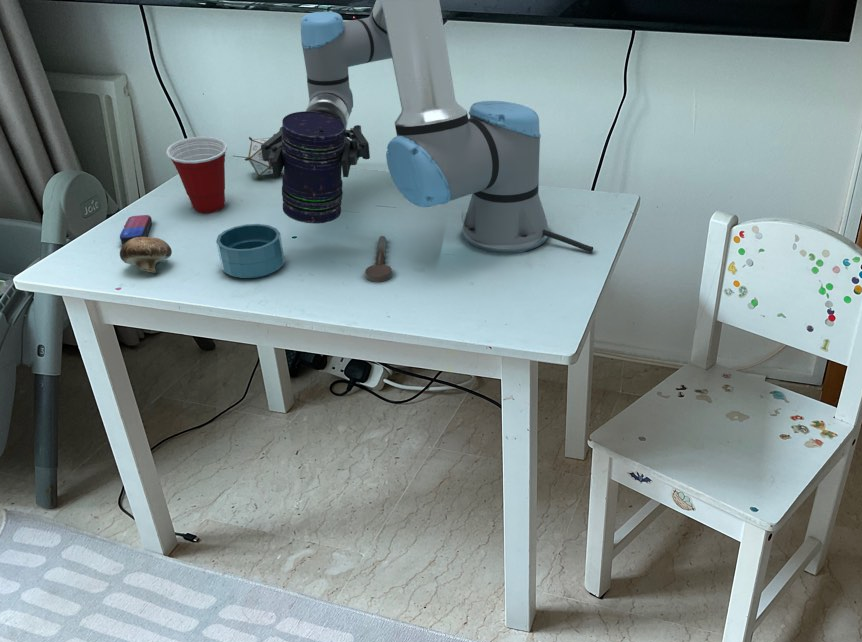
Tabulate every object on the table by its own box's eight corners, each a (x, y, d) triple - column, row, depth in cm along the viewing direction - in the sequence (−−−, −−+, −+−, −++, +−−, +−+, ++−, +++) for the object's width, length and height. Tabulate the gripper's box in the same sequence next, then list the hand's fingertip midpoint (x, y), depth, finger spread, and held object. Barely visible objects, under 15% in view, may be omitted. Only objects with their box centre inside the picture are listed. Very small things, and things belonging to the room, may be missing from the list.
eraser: (131, 222, 166) (128, 213, 165) (154, 220, 167) (151, 211, 166) (119, 247, 157) (117, 237, 156) (143, 245, 158) (141, 236, 157)
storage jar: (272, 199, 151) (271, 113, 141) (326, 192, 156) (329, 108, 146) (296, 227, 145) (297, 140, 135) (352, 219, 150) (356, 133, 140)
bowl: (295, 257, 154) (290, 227, 151) (266, 284, 146) (260, 253, 143) (242, 250, 157) (236, 220, 153) (211, 276, 149) (204, 246, 145)
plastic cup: (178, 222, 166) (163, 159, 159) (181, 199, 175) (167, 139, 168) (238, 216, 168) (226, 154, 161) (238, 194, 177) (227, 134, 170)
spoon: (370, 242, 159) (369, 234, 158) (395, 241, 159) (394, 234, 159) (364, 282, 147) (364, 274, 146) (391, 281, 147) (391, 273, 146)
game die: (276, 188, 189) (293, 143, 188) (280, 188, 181) (298, 142, 180) (234, 170, 185) (252, 124, 184) (237, 170, 177) (255, 122, 176)
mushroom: (150, 267, 144) (142, 229, 144) (114, 279, 147) (105, 242, 147) (185, 269, 152) (177, 233, 152) (149, 281, 155) (141, 246, 155)
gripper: (391, 142, 160) (384, 190, 142) (263, 144, 159) (240, 194, 141) (388, 99, 156) (380, 144, 138) (256, 102, 155) (232, 147, 137)
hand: (309, 169), depth 140 cm, fingers closed on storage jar, 10 cm apart
